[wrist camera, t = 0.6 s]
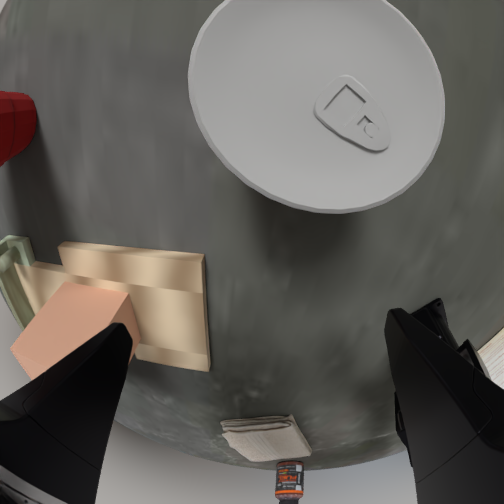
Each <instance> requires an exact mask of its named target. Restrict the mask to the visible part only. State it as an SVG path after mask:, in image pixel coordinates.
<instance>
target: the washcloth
mask: <svg viewBox="0 0 504 504" xmlns="http://www.w3.org/2000/svg"><path fill="white" fill-rule="evenodd" d="M220 424H221V425H222V428H223V430H224V433H222V435H223V437H225V439H226V440H227V441H228V443H229V446H230V447H232V448H234V449H236V450H237V451H238V452H239V453H240V454H242V455H243V456H245V457H246V458H248V459H249V460H250V461H257V462H258V461H270V460H275V459H282V458H285V459H288V458H298V457H305V456H309V455H310V454H311V452H312V449H311V447H310V446H309V444H308V443H307V441H306V439H305V437H304V435H303V434H302V433H301V431H300V429H299V428H298V425H297V423H296V421H295V419H294V417H293V416H292V415H289V416H286V417H285V416H268V417H258V418H249V419H232V420H224V421H221V422H220Z"/></svg>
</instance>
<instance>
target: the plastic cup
mask: <svg viewBox="0 0 504 504" xmlns="http://www.w3.org/2000/svg"><path fill="white" fill-rule="evenodd" d="M36 122H37V119H36V108H35V105H34V102H33V100H32V99H31V98H30V97H29V96H28V95H26V94H24V93H18V92H5V91H0V167H1V166H2V165H3V164H4V163H5V162H6V161H8V160H9V159H11V158H12V157H14V156H15V155H17V154H19V153H20V152H21V151H22V150H23V149H25V148H26V147H27V146H28V145H29V143H30V142H31V140H32V138H33V135H34V133H35V128H36Z"/></svg>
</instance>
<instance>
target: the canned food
mask: <svg viewBox="0 0 504 504" xmlns="http://www.w3.org/2000/svg"><path fill="white" fill-rule="evenodd" d="M188 84H189V96H190V102H191V105H192V108H193V112H194V115H195V118H196V122H197V124H198V126H199V128H200V130H201V132H202V134H203V135H204V137H205V139H206V141H207V143H208V145H209V146H210V148H211V149H212V150H213V151H214V153H215V154H216V155H217V156H218V158H219V159H220V160H221V161H222V163H223V164H224V165H225V166H226V167H227V168H228V169H229V170H230V171H231V172H233V173H234V174H235V175H236V176H237V177H238V178H239V179H241V180H242V181H243V182H244V183H245V184H246V185H248V186H250V187H251V188H253V189H255V190H256V191H258V192H260V193H261V194H263V195H264V196H266V197H268V198H270V199H272V200H275V201H277V202H280V203H282V204H285V205H287V206H290V207H292V208H297V209H302V210H306V211H311V212H315V213H334V214H343V213H350V212H357V211H364V210H367V209H370V208H373V207H376V206H378V205H381V204H384V203H386V202H388V201H390V200H391V199H393V198H395V197H396V196H398V195H400V194H402V193H403V192H404V191H406V190H407V189H408V188H409V187H410V186H411V185H412V184H413V183H414V182H415V181H417V180H418V179H419V178H420V176H421V175H422V174H423V172H424V171H425V169H426V168H427V167H428V165H429V164H430V162H431V161H432V159H433V157H434V154H435V152H436V150H437V148H438V145H439V143H440V140H441V135H442V131H443V126H444V121H445V96H444V90H443V85H442V80H441V75H440V72H439V70H438V67H437V64H436V62H435V59H434V57H433V55H432V52H431V51H430V49H429V47H428V46H427V44H426V42H425V41H424V39H423V38H422V36H421V35H420V33H419V32H418V30H417V29H416V28H415V27H414V26H413V25H412V24H411V22H410V21H409V20H408V19H407V18H406V17H405V16H404V15H403V14H402V13H401V12H400V11H399V10H397V9H396V8H395V7H394V6H392V5H391V4H390V3H388V2H387V1H386V0H225V1H224V2H223V3H222V4H220V5H219V6H218V7H217V8H216V9H215V10H214V11H213V12H212V14H211V15H210V16H209V18H208V19H207V20H206V22H205V23H204V25H203V26H202V28H201V29H200V31H199V34H198V36H197V38H196V41H195V43H194V46H193V48H192V51H191V57H190V63H189V70H188Z"/></svg>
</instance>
